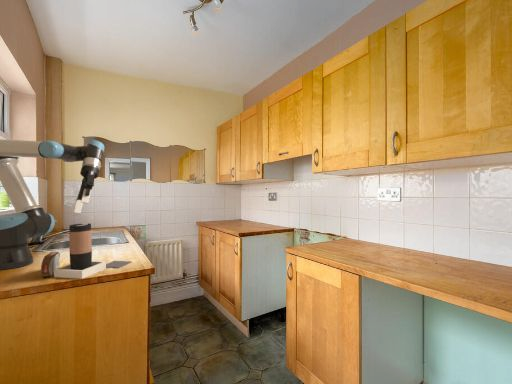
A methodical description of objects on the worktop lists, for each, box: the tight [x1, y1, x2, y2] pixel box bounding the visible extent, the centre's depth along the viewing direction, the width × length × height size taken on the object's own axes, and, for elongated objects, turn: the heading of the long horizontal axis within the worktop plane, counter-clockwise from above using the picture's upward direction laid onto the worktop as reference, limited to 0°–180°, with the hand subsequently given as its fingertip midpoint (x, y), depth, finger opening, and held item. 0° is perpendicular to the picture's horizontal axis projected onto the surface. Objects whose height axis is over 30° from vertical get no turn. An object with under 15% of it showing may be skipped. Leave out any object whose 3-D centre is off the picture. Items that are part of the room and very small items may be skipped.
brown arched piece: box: [40, 251, 61, 278], centre depth 106 cm, size 15×3×8 cm, turn 24°
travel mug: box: [68, 223, 93, 270], centre depth 107 cm, size 8×8×20 cm
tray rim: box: [53, 260, 107, 280], centre depth 107 cm, size 13×13×3 cm
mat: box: [106, 260, 132, 269], centre depth 118 cm, size 9×9×1 cm
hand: (80, 208), depth 117 cm, fingers open, 13 cm apart
